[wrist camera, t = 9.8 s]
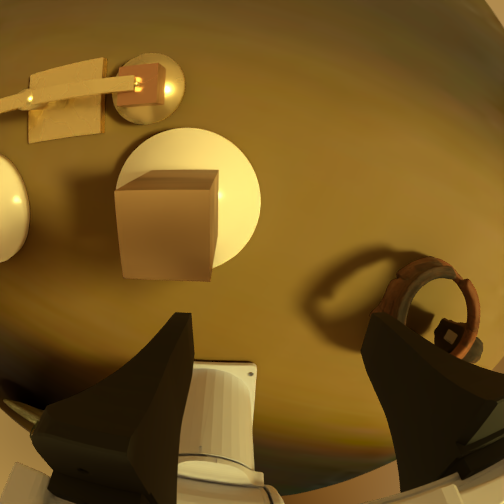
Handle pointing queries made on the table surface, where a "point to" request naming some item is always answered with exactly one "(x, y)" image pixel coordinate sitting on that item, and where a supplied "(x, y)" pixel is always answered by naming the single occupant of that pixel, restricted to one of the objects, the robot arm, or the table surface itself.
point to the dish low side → (206, 158)
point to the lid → (25, 411)
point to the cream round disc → (12, 210)
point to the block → (168, 225)
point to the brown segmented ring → (448, 332)
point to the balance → (98, 96)
